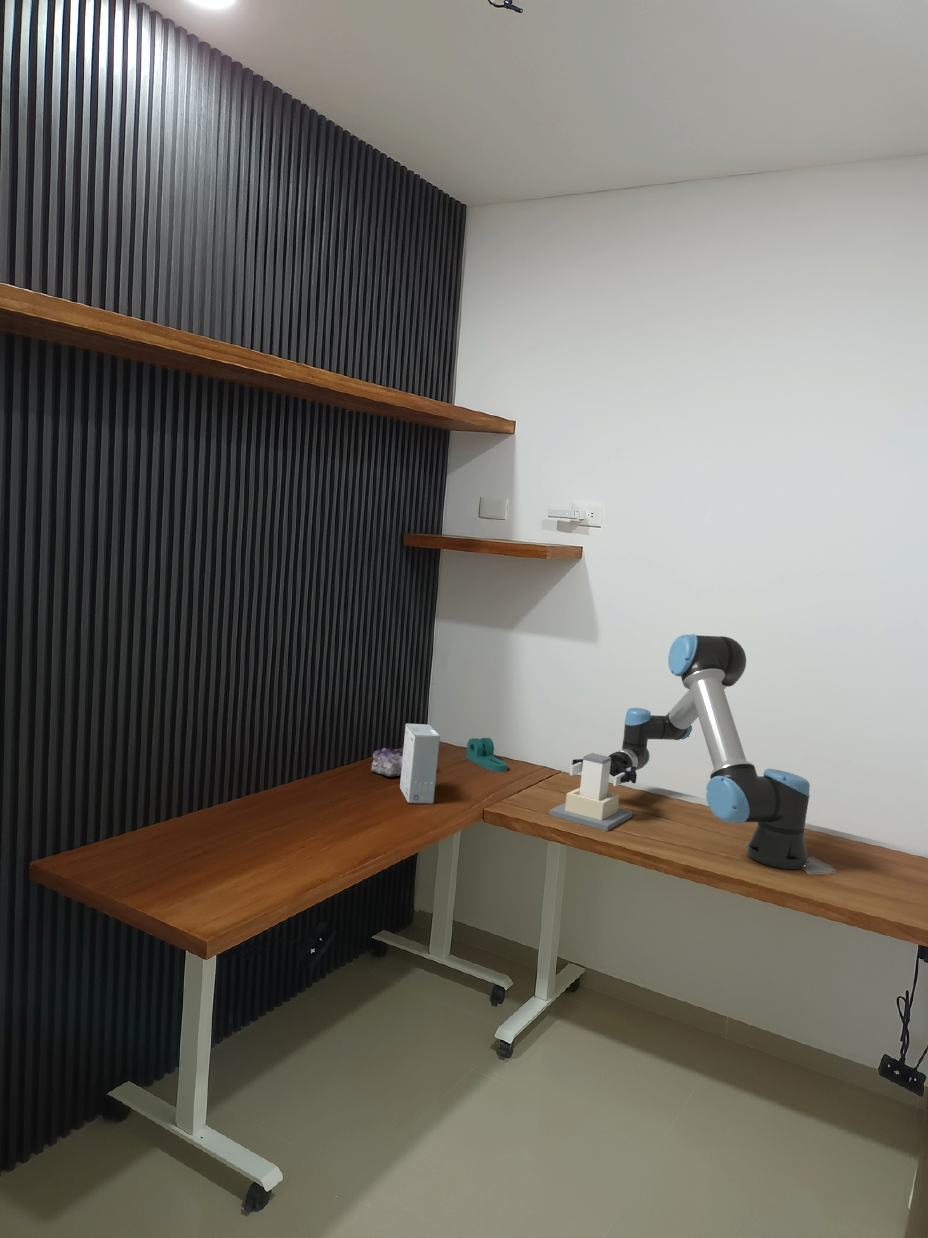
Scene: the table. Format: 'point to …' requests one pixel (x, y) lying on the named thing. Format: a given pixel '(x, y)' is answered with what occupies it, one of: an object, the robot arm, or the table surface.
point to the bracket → (484, 754)
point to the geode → (388, 762)
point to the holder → (591, 811)
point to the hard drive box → (419, 763)
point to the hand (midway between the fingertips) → (592, 776)
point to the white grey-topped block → (595, 776)
